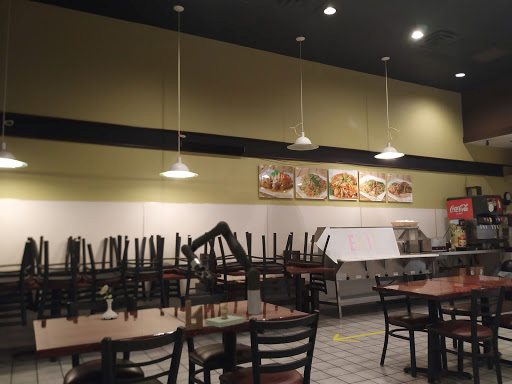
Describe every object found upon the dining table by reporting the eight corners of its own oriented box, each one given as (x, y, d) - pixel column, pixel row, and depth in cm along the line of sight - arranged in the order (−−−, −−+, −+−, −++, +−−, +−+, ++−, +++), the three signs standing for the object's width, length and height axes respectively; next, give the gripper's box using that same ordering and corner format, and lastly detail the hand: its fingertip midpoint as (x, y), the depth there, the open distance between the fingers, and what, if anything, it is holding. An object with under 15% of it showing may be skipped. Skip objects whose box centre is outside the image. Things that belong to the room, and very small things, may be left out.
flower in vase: (111, 316, 321) (111, 283, 323) (120, 318, 314) (120, 283, 317) (96, 319, 310) (96, 285, 312) (105, 321, 304) (105, 285, 306)
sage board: (229, 319, 294) (229, 315, 294) (244, 322, 282) (243, 317, 282) (205, 324, 281) (205, 319, 281) (219, 327, 269) (219, 322, 269)
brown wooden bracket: (203, 329, 266) (202, 299, 268) (186, 331, 262) (185, 301, 264) (201, 327, 270) (200, 299, 271) (184, 329, 265) (184, 300, 267)
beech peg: (225, 322, 285) (224, 302, 286) (229, 323, 281) (229, 303, 282) (219, 323, 282) (218, 303, 283) (223, 324, 278) (223, 304, 279)
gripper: (193, 263, 301) (204, 279, 293) (207, 261, 312) (219, 277, 304) (188, 270, 304) (199, 287, 295) (202, 268, 315) (214, 285, 306)
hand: (209, 282), depth 300 cm, fingers open, 8 cm apart
